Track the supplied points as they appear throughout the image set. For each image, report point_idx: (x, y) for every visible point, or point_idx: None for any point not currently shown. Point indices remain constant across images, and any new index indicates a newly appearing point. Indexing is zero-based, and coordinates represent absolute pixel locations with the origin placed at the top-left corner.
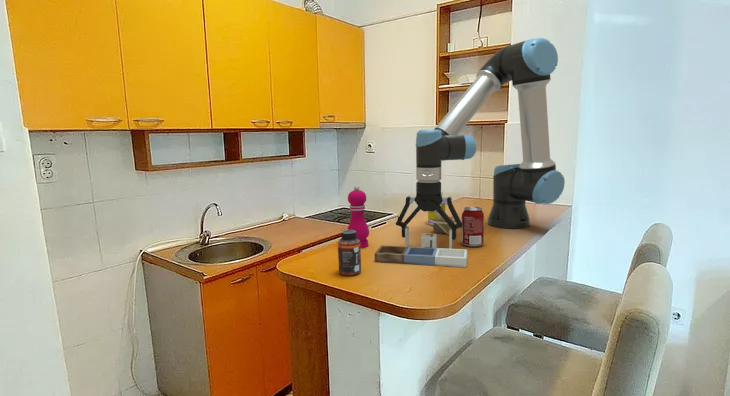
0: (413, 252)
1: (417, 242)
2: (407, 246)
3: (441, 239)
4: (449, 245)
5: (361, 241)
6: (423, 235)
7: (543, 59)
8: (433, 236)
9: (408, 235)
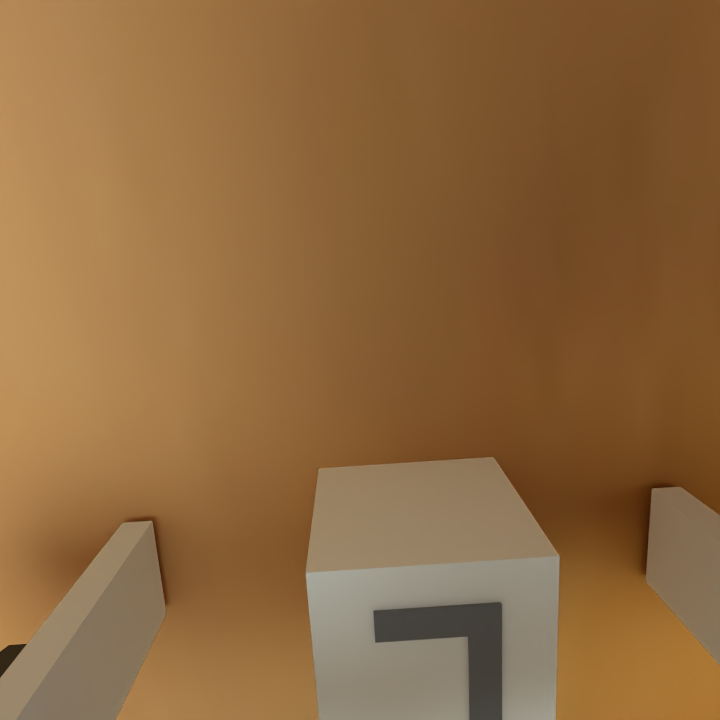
0: None
1: (203, 284)
2: (156, 630)
3: (518, 33)
4: (687, 623)
5: None
6: (346, 686)
7: None
8: (515, 706)
9: (89, 657)
